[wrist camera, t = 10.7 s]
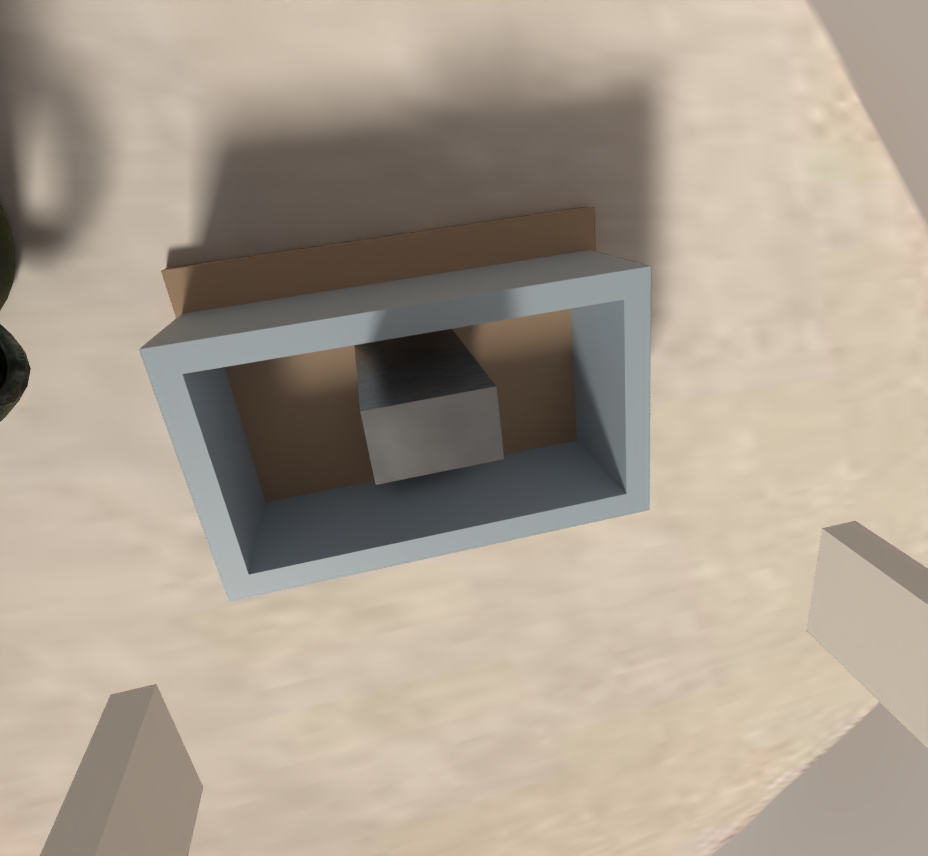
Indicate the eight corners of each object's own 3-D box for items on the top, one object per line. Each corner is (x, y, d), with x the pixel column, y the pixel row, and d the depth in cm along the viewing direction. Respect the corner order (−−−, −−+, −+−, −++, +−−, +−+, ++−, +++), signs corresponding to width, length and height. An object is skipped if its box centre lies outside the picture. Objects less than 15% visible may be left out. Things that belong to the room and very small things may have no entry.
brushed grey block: (354, 342, 30) (360, 411, 21) (450, 326, 31) (496, 386, 22) (377, 456, 33) (391, 561, 24) (465, 439, 33) (512, 534, 24)
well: (165, 268, 28) (110, 295, 21) (588, 206, 31) (658, 213, 24) (255, 549, 34) (234, 637, 28) (597, 477, 37) (654, 542, 30)
